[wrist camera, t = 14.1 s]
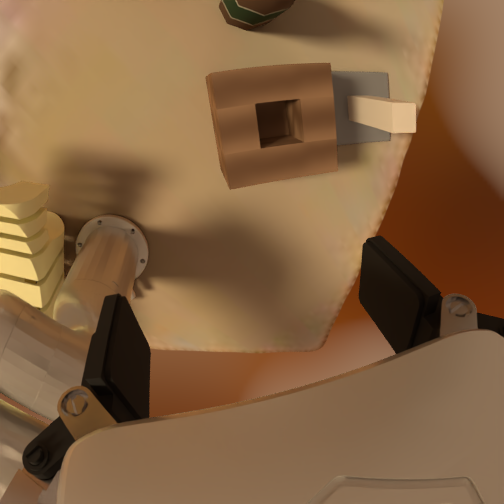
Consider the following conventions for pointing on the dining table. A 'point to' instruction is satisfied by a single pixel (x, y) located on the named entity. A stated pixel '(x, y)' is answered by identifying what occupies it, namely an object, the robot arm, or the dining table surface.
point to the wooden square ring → (273, 122)
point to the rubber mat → (357, 86)
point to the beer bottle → (252, 11)
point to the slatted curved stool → (30, 245)
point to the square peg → (383, 113)
